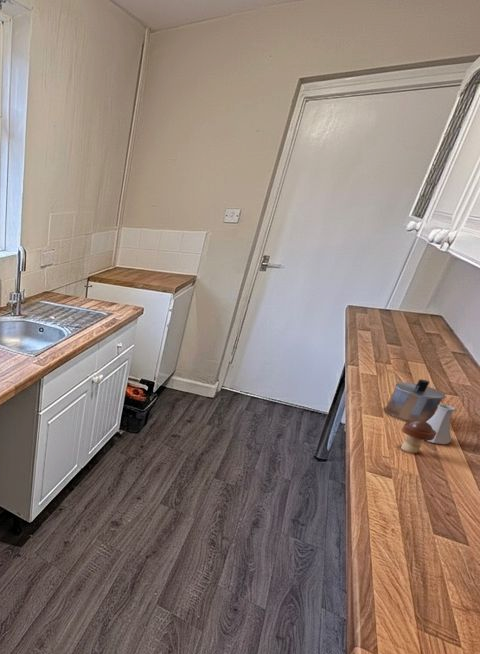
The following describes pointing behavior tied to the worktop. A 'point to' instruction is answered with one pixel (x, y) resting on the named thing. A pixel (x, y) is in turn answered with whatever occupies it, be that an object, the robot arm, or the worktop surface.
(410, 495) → the worktop surface
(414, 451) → the mushroom
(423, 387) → the pot lid
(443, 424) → the flask
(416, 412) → the pot
